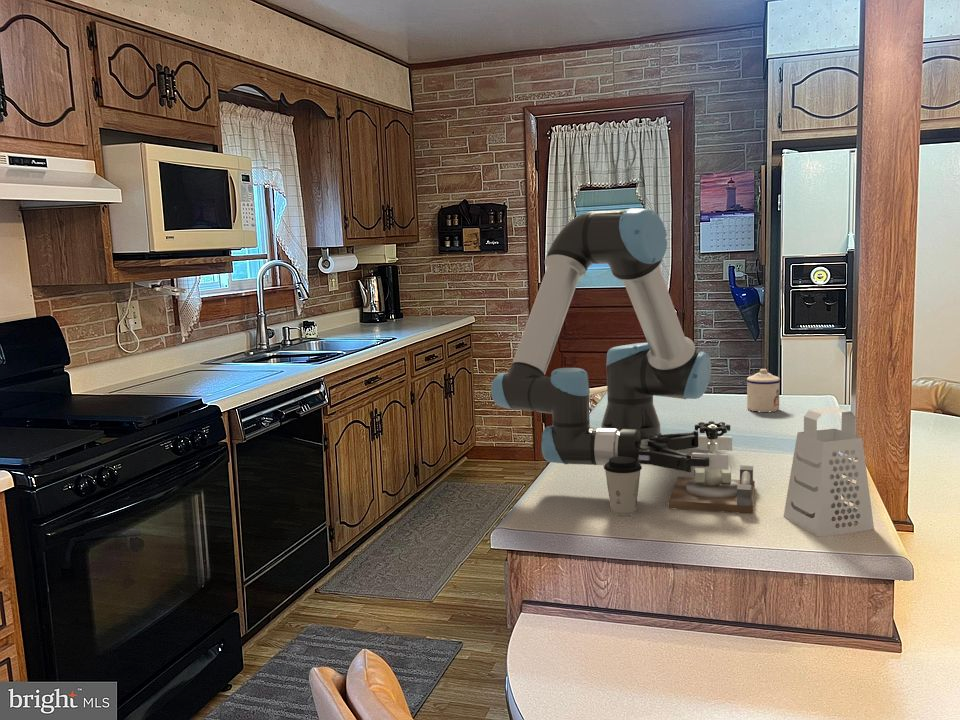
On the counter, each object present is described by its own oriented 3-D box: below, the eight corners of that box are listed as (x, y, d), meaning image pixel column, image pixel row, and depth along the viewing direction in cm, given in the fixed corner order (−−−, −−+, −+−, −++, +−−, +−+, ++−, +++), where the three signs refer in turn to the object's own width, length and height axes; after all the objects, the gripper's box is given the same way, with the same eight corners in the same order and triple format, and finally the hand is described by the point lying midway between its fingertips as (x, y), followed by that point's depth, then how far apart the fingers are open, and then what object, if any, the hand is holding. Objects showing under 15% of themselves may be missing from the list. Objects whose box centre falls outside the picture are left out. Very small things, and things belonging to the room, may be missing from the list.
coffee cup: (650, 512, 153) (649, 460, 152) (622, 520, 150) (621, 467, 148) (624, 503, 159) (623, 453, 158) (597, 511, 155) (595, 459, 154)
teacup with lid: (781, 413, 230) (782, 371, 228) (747, 412, 232) (747, 372, 230) (777, 404, 241) (777, 365, 240) (744, 404, 244) (744, 365, 242)
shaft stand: (677, 483, 170) (677, 462, 170) (754, 487, 165) (754, 466, 164) (668, 508, 155) (668, 485, 155) (752, 513, 150) (752, 489, 150)
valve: (732, 491, 156) (732, 429, 154) (695, 490, 157) (695, 429, 155) (728, 480, 162) (728, 421, 160) (694, 480, 164) (693, 421, 162)
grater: (874, 529, 140) (877, 414, 137) (818, 536, 138) (820, 419, 135) (835, 510, 150) (837, 402, 147) (783, 516, 148) (784, 407, 145)
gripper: (629, 450, 177) (733, 454, 170) (608, 483, 154) (726, 490, 147) (629, 415, 176) (733, 418, 169) (607, 444, 153) (726, 449, 146)
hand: (730, 452), depth 158 cm, fingers open, 13 cm apart
